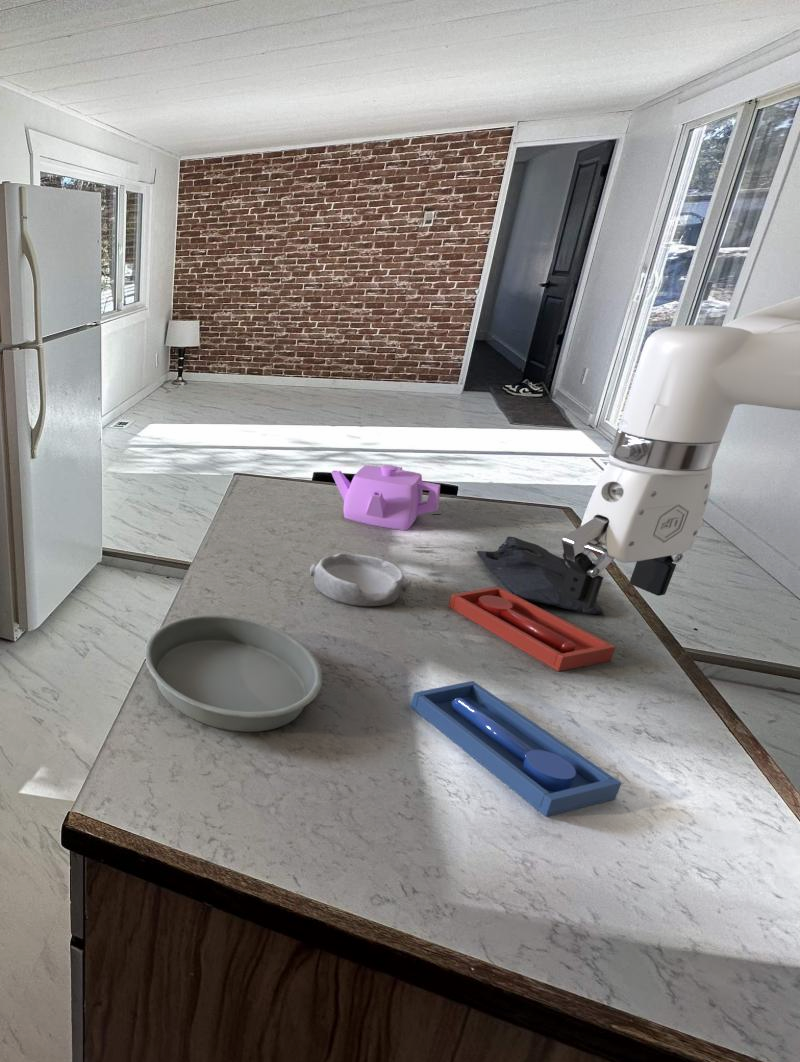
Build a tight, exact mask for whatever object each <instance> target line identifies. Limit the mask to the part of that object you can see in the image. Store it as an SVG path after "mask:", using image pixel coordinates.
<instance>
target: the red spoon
mask: <svg viewBox="0 0 800 1062" xmlns="http://www.w3.org/2000/svg"><path fill="white" fill-rule="evenodd" d="M477 606H478V607H480V608H481V609H483V610H485V611H487V612H488V613H490V614H492V615H494V616H496V617H497V618H499V619H504V620H506V621H508V622H509V623H511V624H513V625H515V626H517V627H518V628H520V629H522V630H524V631H526V632H527V633H529V634H531V635H533V636H535V637H536V638H538V639H540V640H542V641H543V642H545V643H547V644H549V645H551V646H552V647H554V648H556V649H558V650H560V651H561V652H563V653H568V652H573V651H574V650H575V645H574V643H572V642H571V641H569V640H567V639H566V638H564V637H562V636H560V635H558V634H556V633H554V632H553V631H551V630H549V629H547V628H545V627H543V626H541V625H539V624H538V623H536V622H534V621H532V620H530V619H528V618H526V617H525V616H523V615H521V614H519V613H517V612H515V611H513V610H512V607H513V605H512V603H511V602H509V601H508V600H506V599H503V598H501V597H497V596H491V595H485V596H481V597H480V598H479V600H478V604H477Z"/></svg>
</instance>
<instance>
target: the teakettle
mask: <svg viewBox="0 0 800 1062" xmlns="http://www.w3.org/2000/svg"><path fill="white" fill-rule="evenodd" d="M330 473H331V476H332V478H333V480H334V482H335V486H336V487H337V489H338V491H339V494H340V495H341V498H342V500H343V502H344V503H343V516H344V519H347V520H350V521H354V522H357V523H360V524H361V523H362V524H366V525H370V526H375V527H381V528H386V529H392V530H398V531H408V530H409V529H410V528H411V526H413V524H414V523H415V521H416V519H417V517H418V516H420V515H424V514H429V513H433V512H437V510H438V509H439V505H440V495H441V494H440V493H441V484H438V483H432V482H428V481H424V480H423V477H422V476H423V475H422V473H419V472H416V471H410V470H406V469H405V470H403V467H402V466H396V465H392V464H383V465H380V466H378V465H369V464H368V465H367V464H366V465H364V466H362V467H361V468H360V469H359V470H358V471H357V472H356V473H355V474H354V475H353V477H352V480H351V481H350V480H349V479H348V478H347V477H346V475H345V474H344V473H343V472H342V470H332V471H331V472H330ZM423 491H428V496H427V500H426V501H424V502H423Z"/></svg>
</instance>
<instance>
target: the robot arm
mask: <svg viewBox="0 0 800 1062" xmlns="http://www.w3.org/2000/svg"><path fill="white" fill-rule="evenodd" d="M739 405H748V406H758V407H764V408H766V407H767V408H772V409H774V408H775V409H780V410H781V409H782V410H789V411H800V295H799V296H796V297H792V298H789V299H787V300H783V301H780V302H778V303H774V304H772V305H769V306H766V307H763V308H760V309H757V310H754V311H752V312H749V313H746V314H743V315H740V316H739V317H737V318H734V319H732V320H731V321H729V322H727V323H725V324H723V325H705V324H703V325H702V324H684V325H672V326H666V327H661V328H659V329H656V330H654V331H653V332H652V333H650V335H649V336H648V337H647V339H646V340H645V342H644V345H643V347H642V350H641V353H640V357H639V360H638V363H637V366H636V369H635V372H634V376H633V378H632V382H631V384H630V389H629V392H628V394H627V398H626V400H625V403H624V407H623V411H622V414H621V417H620V420H619V423H618V425H617V426H618V427H617V430H616V432H615V435H614V439H613V441H612V445H611V448H610V451H609V455H608V462H607V463H606V465H605V467H604V469H603V471H602V473H601V475H600V476H599V479H598V480H597V483H596V484H595V487H594V489H593V491H592V493H591V496H590V499H589V501H588V504H587V506H586V508H585V511H584V514H583V518H582V520H581V524H580V526H579V527H577V528H576V529H574V530H573V531H571V532H569V533H568V534H566V535H565V536H563V538H562V540H561V544H562V549H563V553H562V557H563V558H562V559H565V560H566V562H565V565H566V566H567V567H568V570H567V573H566V577H565V580H564V583H563V586H562V589H561V593H560V595H561V597H562V598H564V599H566V600H568V601H570V602H572V603H575V604H577V605H579V606H581V607H583V608H585V609H591V608H593V607H594V604H595V601H597V599H598V596H599V592H600V590H601V586H602V583H603V580H604V577H603V576H602V575H600V574H602V572H603V571H604V570H605V569H606V568H607V567H608V566H609V565H610V564H611V563H612V562H613V561H614V560H615V561H617V562H619V563H624V564H629V563H635V565H634V567H633V568H634V569H633V571H632V574H631V577H630V580H629V584H630V585H631V586H634V587H636V588H639V589H641V590H643V591H646V592H648V593H650V594H652V595H655V596H660V597H661V596H664V595H666V593H667V591H668V587H669V585H670V583H671V580H672V577H673V574H674V572H675V569H676V567H677V564H678V563H680V562H681V561H682V560H683V558H684V553H686V552H687V551H689V550H691V549H692V548H693V546H694V544H695V542H696V538H697V536H698V533H699V531H700V530H701V528H702V526H703V525H704V523H705V521H704V518H703V517H704V515H705V514H704V513H705V510H706V507H707V503H708V500H709V496H710V491H711V486H712V477H713V464H714V462H715V459H716V456H717V454H718V451H719V448H720V445H721V443H722V441H723V438H724V435H725V432H726V430H727V427H728V426H729V425H728V424H729V422H730V419H731V417H732V415H733V412H734V409H735V407H736V406H739ZM603 546H605V547H606V548H605V547H603ZM590 553H592V554H595V555H598V557H597V558H596V559H595V560H594V561H592V560H591V559H590V557H589V554H590Z"/></svg>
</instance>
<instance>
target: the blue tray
mask: <svg viewBox="0 0 800 1062" xmlns="http://www.w3.org/2000/svg"><path fill="white" fill-rule="evenodd" d="M455 698H463V699H465V700H466V701H468V702H469V703H470V704H472V705H473V706H475V707H476V708H477V709H479V710H480V711H481V712H483V713H484V714H486V715H487V716H488V717H490V718H491V719H492V720H494V721H495V722H497V723H498V724H499V725H501V726H502V727H503V728H505V729H506V730H508V731H509V732H510V733H512V734H513V735H514V736H516V737H517V738H519V739H520V740H521V741H523V742H524V743H525V744H527V745H528V746H530V747H531V748H532V749H534V750H543V751H547V752H550V753H553V754H556V755H558V756H560V757H562V758H564V759H565V760H567V761H568V762H569V763H570V764H571V765H572V766H573V767H574V769H575V771H576V775H575V778H574V781H573V784H572V786H571V788H570V789H567V790H563V791H559V792H554V791H550V790H547V789H544V788H543V787H541V786H540V785H539V784H537V783H536V782H535V781H534V780H532V779H531V778H530V777H528V776H527V775H526V774H524V773H523V772H522V765H523V762H522V761H521V760H519V759H518V758H517V757H515V756H514V755H513V754H511V753H510V752H509V751H508V750H506V749H505V748H504V747H502V746H501V745H500V744H498V743H497V742H496V741H494V740H493V739H492V738H490V737H489V736H488V735H486V734H485V733H484V732H482V731H481V730H480V729H478V728H477V727H476V726H474V725H473V724H472V723H470V722H469V721H468V720H467V719H465V718H464V717H463V716H461V715H460V714H459V713H457V712H456V711H455V710H454V709H453V708H452V705H451V703H452V701H453V700H454V699H455ZM410 708H411V709H412V710H414V711H415V712H416V713H417V714H419V715H420V716H421V717H422V718H423V719H424V720H426V721H427V722H428V723H430V725H432V726H433V727H435V729H437V730H438V731H440V732H441V734H443V735H444V736H446V737H447V738H448V739H449V740H451V741H452V742H453V743H454V744H455V745H457V746H458V747H459V748H460V749H461V750H462V751H464V752H465V753H467V754H468V756H470V757H471V758H473V759H474V760H475V761H477V763H479V765H481V766H483V768H485V769H486V770H487V771H489V773H491V774H492V775H494V776H495V777H496V778H497V779H499V781H501V782H502V783H504V784H505V785H506V786H507V787H508V788H510V789H511V790H512V791H514V793H516V794H517V795H518V796H519V797H521V798H522V799H524V801H525V802H527V803H528V804H530V805H531V806H532V807H533V808H534V809H535V810H537V811H538V812H539V813H540V814H541V815H543V816H544V817H550V816H555V815H558V814H562V813H566V812H571V811H574V810H575V811H576V810H578V809H582V808H586V807H590V806H594V805H599V804H602V803H607V802H610V801H614V800H616V798H617V796H618V793H619V791H620V788H621V786H622V782H621V781H620V780H618V779H617V778H615V777H614V776H612V775H611V774H610V773H608V772H606V771H605V770H604V769H602V768H601V767H599V766H598V765H596V764H595V763H594V762H592V761H590V760H589V759H588V758H586V757H585V756H583V755H582V754H580V753H579V752H577V751H576V750H574V749H573V748H571V747H570V746H569V745H567V744H566V743H565V742H563V741H561V740H560V739H559V738H557V737H556V736H554V734H551V733H550V732H549V731H547V730H546V729H544V728H543V727H542V726H540V725H538V724H536V723H535V722H534V721H532V720H531V719H529V718H528V717H526V715H524V714H522V713H521V712H519V711H518V710H516V709H515V708H514V707H512V706H511V705H509V704H507V703H506V702H504V700H501V699H500V698H499V697H497V696H496V695H494V693H491V692H490V691H489V690H487V689H485V688H484V687H483V686H481V685H480V684H478V683H477V682H475V681H474V680H470V681H466V682H460V683H454V684H451V685H445V686H440V687H435V688H430V689H425V690H421V691H415V692H413V695H412V699H411V704H410Z"/></svg>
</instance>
